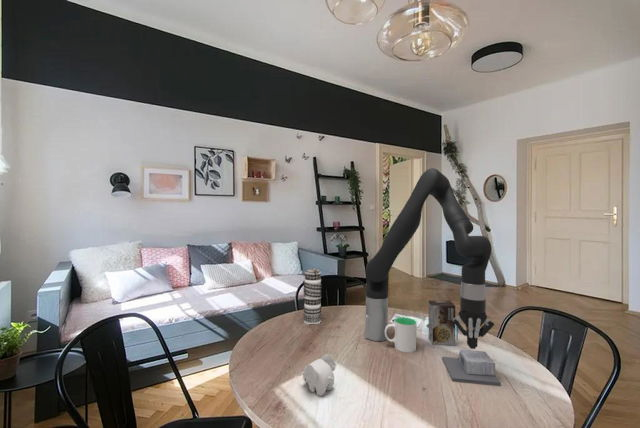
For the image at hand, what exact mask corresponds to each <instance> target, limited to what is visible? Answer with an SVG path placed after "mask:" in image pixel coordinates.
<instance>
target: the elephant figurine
mask: <svg viewBox="0 0 640 428" xmlns="http://www.w3.org/2000/svg"><path fill="white" fill-rule="evenodd" d="M336 368H337V364H336V362H335V360H334V358H333V357H332V356H331V354H328V353H326V354H323V355H322V356H321V358H318V359H316V360H314V361H312V362H310V363H309V364H307V365H305V367H304V371H303V372H302V373H299V374H298V376H299V377H300V376H302V378H303V379H302V380H303V381H304V383H306V384H308V387H309V388H308V389H309V392H312V393H315V392H316V395H317V396H318V397H322V396H324V395H325V393H326V391H330V390H332V389H333V387H334V384H335V374H334V371H335V370H336Z"/></svg>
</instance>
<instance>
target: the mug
mask: <svg viewBox="0 0 640 428" xmlns="http://www.w3.org/2000/svg"><path fill="white" fill-rule="evenodd" d="M390 327H392V328H393V329H394V336H393V338H389V336H388V337H387V334H386V331H387V329H388V330H389V328H390ZM385 337H386V338H387V339H386V340H387V341H388V342H391V343H394V348H395V349H396V350H397V351H398V352H399V351H400V352H403V353H413V352H415V351H417V320H415V319H413V318H410V317H405V316H403V317H396V318H395V319H394V323H388V325H387V326H386V328H385Z"/></svg>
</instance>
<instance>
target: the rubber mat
mask: <svg viewBox="0 0 640 428" xmlns="http://www.w3.org/2000/svg"><path fill="white" fill-rule="evenodd" d="M441 360H442V363H443V364H444V366H445V369H446V371H447V373H448V375H449V377H450V379H451V382H455V383H456V382H458V383H464V384H465V383H466V384H477V385H488V386H495V387H496V386H497V387H500V386H502V384H501V383H502V382H501V381H500V379H498V377H497V375H495V376H490V375H477V374H467V373H466V372H465V370H464V369H463V367H462V365H461V364H460V362H459V357H451V356H450V357H449V356H441Z"/></svg>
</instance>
